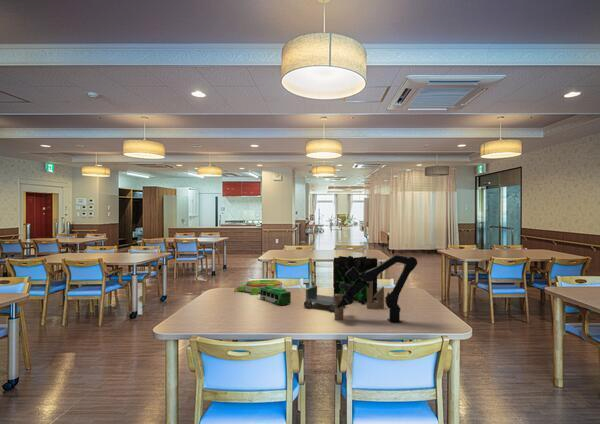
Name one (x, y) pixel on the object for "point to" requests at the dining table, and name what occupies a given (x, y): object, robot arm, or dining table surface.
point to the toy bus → (275, 295)
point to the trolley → (318, 299)
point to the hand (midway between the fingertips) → (337, 305)
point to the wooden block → (378, 295)
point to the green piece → (257, 285)
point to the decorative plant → (361, 266)
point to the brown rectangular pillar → (338, 310)
